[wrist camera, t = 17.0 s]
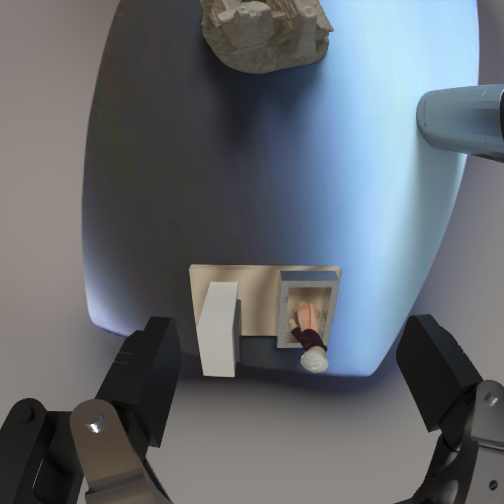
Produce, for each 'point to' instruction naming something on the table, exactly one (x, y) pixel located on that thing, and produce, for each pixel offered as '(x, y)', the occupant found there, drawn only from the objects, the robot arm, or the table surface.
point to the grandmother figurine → (309, 337)
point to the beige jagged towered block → (265, 33)
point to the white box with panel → (220, 330)
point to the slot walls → (306, 280)
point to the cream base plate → (257, 293)
